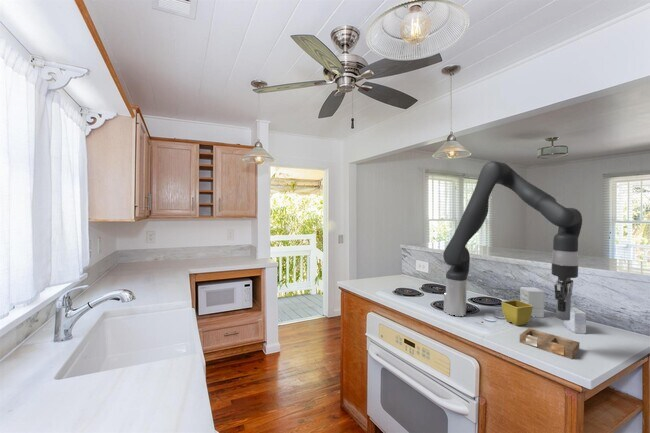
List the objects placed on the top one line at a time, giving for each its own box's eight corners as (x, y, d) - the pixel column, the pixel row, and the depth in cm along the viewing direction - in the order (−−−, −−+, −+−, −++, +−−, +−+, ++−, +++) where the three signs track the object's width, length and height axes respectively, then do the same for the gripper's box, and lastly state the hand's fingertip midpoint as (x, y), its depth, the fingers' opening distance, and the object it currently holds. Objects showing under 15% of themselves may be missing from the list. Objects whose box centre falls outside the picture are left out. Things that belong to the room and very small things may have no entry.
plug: (554, 318, 110) (555, 290, 109) (558, 315, 112) (558, 289, 112) (568, 321, 106) (569, 293, 106) (571, 318, 109) (572, 291, 109)
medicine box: (586, 334, 124) (587, 313, 124) (573, 333, 125) (574, 312, 124) (574, 326, 132) (575, 307, 131) (562, 325, 132) (563, 306, 132)
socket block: (519, 342, 116) (519, 334, 116) (528, 335, 122) (529, 327, 122) (571, 359, 103) (571, 350, 103) (579, 350, 110) (579, 341, 110)
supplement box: (535, 312, 149) (535, 287, 148) (544, 318, 141) (545, 291, 141) (519, 311, 150) (520, 286, 149) (527, 317, 142) (528, 290, 142)
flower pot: (517, 328, 129) (517, 307, 129) (500, 320, 138) (500, 301, 137) (532, 326, 132) (533, 305, 131) (515, 318, 140) (516, 299, 140)
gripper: (557, 259, 116) (556, 303, 117) (546, 263, 107) (544, 311, 108) (583, 262, 110) (581, 308, 111) (572, 267, 101) (571, 317, 102)
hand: (563, 309), depth 109 cm, fingers closed on plug, 4 cm apart
